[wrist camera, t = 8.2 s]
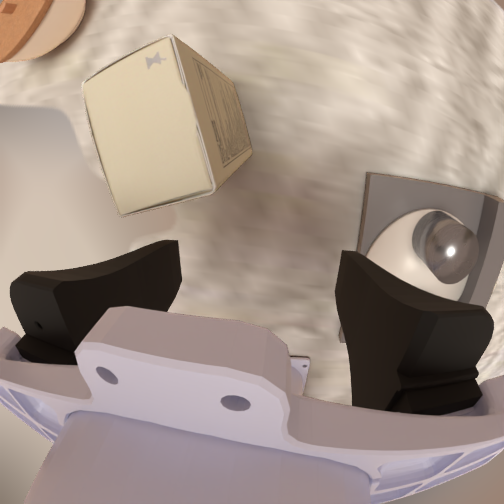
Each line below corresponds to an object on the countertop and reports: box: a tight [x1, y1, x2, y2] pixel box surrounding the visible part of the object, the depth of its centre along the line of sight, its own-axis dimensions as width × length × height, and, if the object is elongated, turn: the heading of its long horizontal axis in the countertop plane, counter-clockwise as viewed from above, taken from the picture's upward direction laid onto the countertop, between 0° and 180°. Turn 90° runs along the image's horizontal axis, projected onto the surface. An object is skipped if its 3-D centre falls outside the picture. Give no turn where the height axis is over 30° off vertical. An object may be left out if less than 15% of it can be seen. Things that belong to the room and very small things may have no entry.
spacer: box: [412, 211, 479, 284], centre depth 17 cm, size 4×4×4 cm
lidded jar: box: [0, 0, 86, 63], centre depth 10 cm, size 11×11×9 cm
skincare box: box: [81, 34, 252, 217], centre depth 14 cm, size 6×4×12 cm
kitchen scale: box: [339, 172, 504, 343], centre depth 20 cm, size 16×15×3 cm
